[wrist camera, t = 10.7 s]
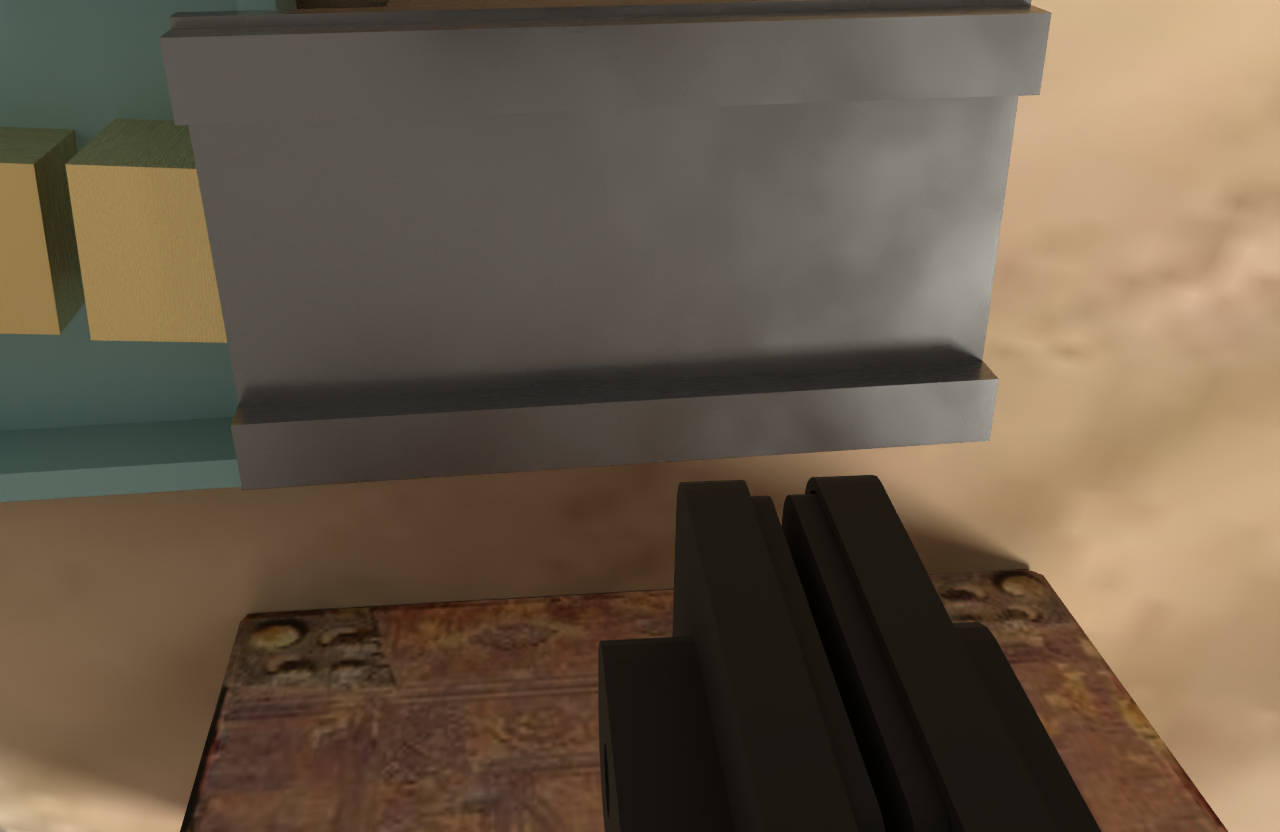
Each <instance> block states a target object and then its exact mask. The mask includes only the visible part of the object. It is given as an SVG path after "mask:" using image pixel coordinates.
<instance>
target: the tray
mask: <svg viewBox="0 0 1280 832" xmlns="http://www.w3.org/2000/svg"><path fill="white" fill-rule="evenodd" d="M281 9H297V3H296V0H0V127H22V128H46V129H71V130H74V132H75V139H76V146H77V153H78V152H79V151H80V150H81V149H83V148H84V147H85V146H86V145H87V144H88V143H89V142H90V141H91V140H92V139H93V138H95V137H96V136H97V135H98V134H99V133H100V132H101V131H102V130H103V129H104V128H105V127H107V126H108V125H109V124H110V123H111V122H112V121H113V120H114V119H115V118H124V119H149V120H173V121H174V117H173V111H172V106H171V101H170V95H169V90H168V84H167V79H166V73H165V68H164V63H163V57H162V52H161V46H160V41H159V38H160V37H161V36H162V35H163V34H165V33H166V32H167V31H168V30H170V29H171V25H170V19H169V17H170V16H172V15H173V14H174V13H176V12H204V11H242V10H281ZM237 407H238V399H237V393H236V388H235V382H234V376H233V371H232V365H231V360H230V354H229V349H228V343H217V342H158V341H99V340H91V337H90V330H89V324H88V317H87V310H86V303H84V304H83V305H82V307H81V308H80V309H79V311H78V312H77V313H76V315H75V316H74V317H73V318H72V320H71V321H70V322H69V324H68V325H67V326H66V328H65V329H64V330H63V332H62V333H61V334H60V335H48V334H0V502H14V501H30V500H45V499H60V498H75V497H91V496H106V495H121V494H136V493H152V492H167V491H182V490H197V489H213V488H228V487H242V486H241V480H240V475H239V469H238V464H237V458H236V453H235V448H234V442H233V437H232V431H231V426H230V425H231V423H232V420H233V417H234V415H235V412H236V410H237Z"/></svg>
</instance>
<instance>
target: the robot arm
mask: <svg viewBox="0 0 1280 832" xmlns="http://www.w3.org/2000/svg"><path fill="white" fill-rule="evenodd" d="M598 714H599V751H600V773H601V790H602V804H603V817H604V829H605V832H1102V831H1101V830H1100V828H1099V826H1098V824H1097V822H1096V820H1095V819H1094V817H1093V815H1092V813H1091V811H1090V810H1089V808H1088V806H1087V804H1086V802H1085V800H1084V799H1083V797H1082V795H1081V793H1080V791H1079V789H1078V788H1077V786H1076V784H1075V782H1074V780H1073V779H1072V777H1071V775H1070V773H1069V771H1068V769H1067V768H1066V766H1065V764H1064V762H1063V760H1062V758H1061V757H1060V755H1059V753H1058V751H1057V749H1056V748H1055V746H1054V744H1053V742H1052V740H1051V738H1050V737H1049V735H1048V733H1047V731H1046V729H1045V727H1044V726H1043V724H1042V722H1041V720H1040V718H1039V716H1038V715H1037V713H1036V711H1035V709H1034V707H1033V706H1032V704H1031V702H1030V700H1029V698H1028V696H1027V695H1026V693H1025V691H1024V689H1023V687H1022V685H1021V684H1020V682H1019V680H1018V678H1017V676H1016V675H1015V673H1014V671H1013V669H1012V667H1011V665H1010V664H1009V662H1008V660H1007V658H1006V656H1005V654H1004V653H1003V651H1002V649H1001V647H1000V645H999V644H998V642H997V640H996V638H995V637H994V636H993V634H992V633H991V631H990V630H989V629H988V627H987V626H985V625H983V624H981V623H979V622H964V623H952V621H951V619H950V617H949V615H948V613H947V611H946V609H945V607H944V605H943V603H942V601H941V599H940V597H939V595H938V593H937V591H936V589H935V587H934V585H933V583H932V581H931V579H930V577H929V576H928V574H927V572H926V570H925V568H924V566H923V564H922V562H921V560H920V558H919V556H918V554H917V552H916V550H915V548H914V546H913V544H912V542H911V540H910V538H909V536H908V534H907V532H906V530H905V528H904V526H903V524H902V522H901V520H900V518H899V517H898V515H897V513H896V511H895V509H894V507H893V505H892V503H891V501H890V499H889V497H888V495H887V493H886V491H885V489H884V487H883V485H882V483H881V481H880V480H879V479H878V477H877V476H874V475H860V476H834V477H811V478H810V480H809V481H808V483H807V486H806V490H805V494H802V495H788V496H787V497H786V499H785V502H784V509H783V519H782V527H781V524H780V521H779V519H778V516H777V513H776V510H775V507H774V504H773V501H772V499H771V497H769V496H752V497H751V496H750V493H749V490H748V487H747V485H746V482H745V481H743V480H730V481H704V482H680V484H679V487H678V493H677V511H676V542H675V573H674V604H673V635H672V637H662V638H642V639H622V640H602V641H600V642H599V650H598Z"/></svg>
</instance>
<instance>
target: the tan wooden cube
mask: <svg viewBox="0 0 1280 832" xmlns="http://www.w3.org/2000/svg"><path fill="white" fill-rule="evenodd" d="M76 154H77V146H76V139H75V132H74V130H71V129H46V128H22V127H0V334H48V335H60V334H61V333H62V332H63V330H64V329H65V328H66V326H67V325H68V324H69V322H70V321H71V320H72V318H73V317H74V316H75V315H76V313H77V312H78V311H79V309H80V308H81V307H82V305H83V304H84V303H85V296H84V289H83V282H82V275H81V268H80V262H79V255H78V248H77V241H76V234H75V227H74V220H73V213H72V206H71V200H70V193H69V186H68V179H67V172H66V165H65V164H66V163H67V162H68V161H70V160H71V159H72V158H73V157H74V156H75V155H76Z"/></svg>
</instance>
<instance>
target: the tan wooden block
mask: <svg viewBox="0 0 1280 832" xmlns="http://www.w3.org/2000/svg"><path fill="white" fill-rule="evenodd" d="M65 165H66V172H67V179H68V186H69V193H70V200H71V206H72V213H73V220H74V227H75V234H76V241H77V248H78V255H79V262H80V268H81V275H82V282H83V289H84V296H85V303H86V310H87V317H88V324H89V330H90V337H91V340H99V341H158V342H217V343H227V337H226V332H225V326H224V321H223V315H222V310H221V304H220V298H219V293H218V287H217V282H216V276H215V270H214V265H213V259H212V254H211V248H210V243H209V237H208V231H207V226H206V220H205V215H204V209H203V204H202V198H201V192H200V187H199V181H198V176H197V170H196V164H195V159H194V153H193V148H192V142H191V137H190V131H189V125H175V122H174V121H173V120H149V119H124V118H115V119H114V120H113V121H112V122H111V123H110V124H109V125H108V126H107V127H105V128H104V129H103V130H102V131H101V132H100V133H99V134H98V135H97V136H96V137H95V138H93V139H92V140H91V141H90V142H89V143H88V144H87V145H86V146H85V147H84V148H83V149H81V150H80V151H79V152H78V153H77V154H76V155H75V156H74V157H73V158H72V159H71V160H70V161H68V162H67V163H66V164H65Z"/></svg>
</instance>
